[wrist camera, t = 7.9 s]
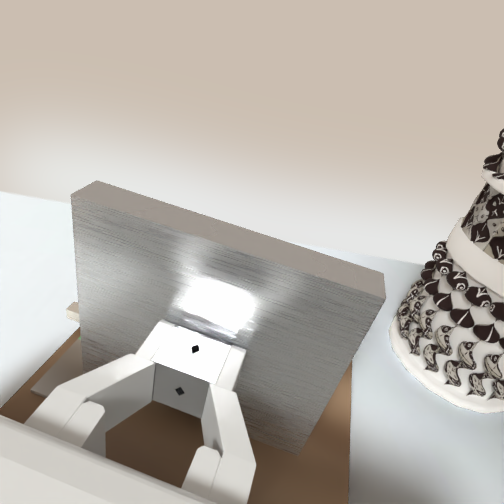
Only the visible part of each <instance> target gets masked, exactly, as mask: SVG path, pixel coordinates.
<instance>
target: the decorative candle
mask: <svg viewBox="0 0 504 504" xmlns="http://www.w3.org/2000/svg"><path fill="white" fill-rule="evenodd" d="M499 137H500V138H499V140H498V142H497V145H498V147H499V149H500V150H501V151H502V152H501V153H500V154H496V155H491V156H488V157H487V158H486V159H485V160H484V163H485V165H483V168H484V169H483V171H482V178H483V179H484V180H485V181H486V184H485V186H484V188H483V190H482V191H481V192H480V194H479V195H478V196H477V197H476V199H475V201H474V202H473V204H472V206H471V209H470V210H469V212H468V214H467V215H466V216H465V217H462V218H460V219H459V221H458V222H457V224H456V225H455V227H454V229H453V230H452V232H451V233H450V235H449V237H448V240H447V241H441V242H439V243H438V244H437V246H436V249H435V250H434V251H433V254H432V256H433V259H434V260H435V261H428V262H427V263H426V264H425V269H423V270H422V272H421V277H422V279H421V280H418V281H416V282H414V283H413V284H412V286H411V290H410V291H409V292H408V294H407V298H406V299H404V300H403V301H402V303H401V307H400V308H399V309H398V311H397V315H396V316H395V317H394V319H393V322H392V324H391V326H390V329H389V336H390V340H391V345H392V349H393V350H394V352H395V353H396V355H397V356H398V358H399V359H400V361H401V363H402V364H403V366H404V367H405V369H406V370H407V371H408V372H410V373H411V374H412V375H413V376H414V377H415V378H416V379H417V380H418V381H419V382H420V383H421V384H423V385H424V386H425V387H426V388H427V389H428V390H430V391H431V392H433V393H435V394H436V395H438V396H440V397H442V398H443V399H445V400H447V401H448V402H450V403H452V404H454V405H455V406H458V407H461V408H465V409H468V410H472V411H475V412H479V413H482V414H488V413H497V412H504V129H503V130H502V131H501V132H500V134H499Z"/></svg>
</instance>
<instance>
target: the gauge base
mask: <svg viewBox="0 0 504 504" xmlns="http://www.w3.org/2000/svg"><path fill="white" fill-rule="evenodd" d="M81 375H83V362H82V348H81V333H80V327H79V328H78V329H77V330H76V331H75V332H74V333H73V334H72V335H71V336H70V337H69V339H68V340H67V341H66V342H65V343H64V344H63V345H62V346H61V347H60V348H59V349H58V350H57V351H56V352H55V353H54V354H53V355H52V356H51V357H50V358H49V359H48V360H47V361H46V362H45V363H44V364H43V365H42V366H41V367H40V368H39V369H38V370H37V371H36V372H35V373H34V375H33V376H32V377H31V378H30V379H29V380H28V381H27V382H26V383H25V384H24V385H23V386H22V387H21V388H20V389H19V390H18V391H17V392H16V393H15V394H14V395H13V396H12V397H11V398H10V399H9V400H8V401H7V402H6V403H5V404H4V405H3V406H2V407H1V408H0V415H2V416H4V417H7V418H9V419H12V420H14V421H17V422H19V423H22V424H24V423H25V422H26V421H27V420H28V418H29V417H30V416H31V415H32V414H33V413H34V412H35V411H36V409H37V408H38V407H39V406H40V405H41V404H42V403H43V401H44V400H45V399H46V398H47V397H48V396H49V395H50V394H51V392H52V391H53V390H54V389H55V388H56V387H57V386H59V385H61V384H63V383H65V382H68V381H70V380H72V379H74V378H76V377H79V376H81ZM351 378H352V361H351V362H350V364H349V366H348V368H347V370H346V371H345V373H344V375H343V377H342V378H341V380H340V382H339V384H338V386H337V387H336V389H335V391H334V393H333V395H332V396H331V398H330V400H329V402H328V404H327V405H326V407H325V409H324V411H323V412H322V414H321V416H320V418H319V420H318V421H317V423H316V425H315V427H314V429H313V430H312V432H311V434H310V436H309V438H308V439H307V441H306V443H305V445H304V446H303V448H302V450H301V452H300V454H299V455H298V456H296V455H294V454H291V453H288V452H286V451H283V450H281V449H278V448H275V447H273V446H270V445H268V444H265V443H262V442H260V441H257V440H255V439H252V438H249V440H250V444H251V447H252V451H253V455H254V458H255V462H256V469H255V473H254V477H253V481H252V485H251V489H250V493H249V497H248V501H247V504H348V492H349V454H350V416H351ZM105 442H106V457H105V458H107V459H110V460H112V461H115V462H117V463H120V464H122V465H125V466H127V467H129V468H132V469H134V470H137V471H139V472H142V473H144V474H147V475H149V476H151V477H154V478H156V479H159V480H161V481H164V482H166V483H169V484H171V485H173V486H176V487H178V488H181V487H182V485H183V482H184V480H185V478H186V475H187V473H188V470H189V468H190V466H191V463H192V461H193V458H194V456H195V454H196V451H197V449H198V448H200V447H202V446H204V439H203V431H202V424H201V419H200V418H197V417H195V416H192V415H190V414H187V413H184V412H182V411H179V410H177V409H174V408H171V407H169V406H166V405H164V404H161V403H158V402H156V401H153V400H152V401H151V402H150V403H149V404H147V405H146V406H144V407H143V408H141V409H140V410H138V411H137V412H135V413H134V414H132V415H131V416H129V417H128V418H126V419H125V420H123V421H122V422H120V423H119V424H117V425H116V426H114V427H113V428H111V429H110V430H108V431H107V432H105Z"/></svg>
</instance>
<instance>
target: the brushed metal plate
mask: <svg viewBox="0 0 504 504" xmlns="http://www.w3.org/2000/svg"><path fill="white" fill-rule="evenodd" d="M71 205H72V219H73V233H74V248H75V262H76V276H77V290H78V303H77V302H73V303H72V304H71V305H70V306H69V307H68V308H67V309H66V313H67V318H68V319H71V320H74V321H76V322H79V323H80V333H81V348H82V362H83V374H85V373H88V372H90V371H92V370H94V369H97V368H99V367H101V366H103V365H106V364H108V363H110V362H112V361H114V360H117V359H119V358H121V357H123V356H126V355H128V354H130V353H131V354H134V355H135V354H136V352H137V351H138V350H139V348H140V347H141V345H142V344H143V343H144V341H145V340H146V338H147V337H148V336H149V334H150V333H151V331H152V330H153V329H154V327H155V326H156V324H157V323H158V322H159V321H160V320H165V321H168V322H170V323H173V324H176V325H179V326H181V327H184V328H186V329H189V330H191V331H194V332H197V333H199V334H202V335H206V336H209V337H212V338H214V339H217V340H220V341H223V342H226V343H229V344H232V345H234V346H237V347H240V348H243V349H245V350H247V352H246V356H245V359H244V362H243V365H242V369H241V372H240V375H239V378H238V381H237V385H236V388H235V391H234V392H235V393H237V397H238V400H239V404H240V408H241V411H242V415H243V418H244V422H245V426H246V429H247V433H248V437H249V438H252V439H255V440H257V441H260V442H262V443H265V444H268V445H270V446H273V447H275V448H278V449H281V450H283V451H286V452H288V453H291V454H294V455H296V456H298V455H299V454H300V452H301V450H302V448H303V446H304V445H305V443H306V441H307V439H308V438H309V436H310V434H311V432H312V430H313V429H314V427H315V425H316V423H317V421H318V420H319V418H320V416H321V414H322V412H323V411H324V409H325V407H326V405H327V404H328V402H329V400H330V398H331V396H332V395H333V393H334V391H335V389H336V387H337V386H338V384H339V382H340V380H341V378H342V377H343V375H344V373H345V371H346V370H347V368H348V366H349V364H350V362H351V361H352V359H353V357H354V355H355V353H356V352H357V350H358V348H359V346H360V344H361V343H362V341H363V339H364V337H365V336H366V334H367V332H368V330H369V328H370V327H371V325H372V323H373V321H374V319H375V318H376V316H377V314H378V312H379V310H380V309H381V307H382V305H383V303H384V302H385V300H386V294H385V284H384V274H383V273H381V272H378V271H375V270H371V269H368V268H365V267H362V266H359V265H356V264H353V263H350V262H347V261H344V260H341V259H338V258H334V257H331V256H328V255H325V254H322V253H319V252H316V251H313V250H310V249H307V248H304V247H301V246H297V245H294V244H291V243H288V242H285V241H282V240H279V239H276V238H273V237H269V236H267V235H263V234H260V233H257V232H254V231H251V230H248V229H245V228H242V227H239V226H236V225H233V224H229V223H227V222H223V221H220V220H217V219H214V218H211V217H208V216H205V215H202V214H198V213H196V212H192V211H190V210H187V209H183V208H180V207H177V206H174V205H171V204H168V203H165V202H162V201H159V200H156V199H153V198H150V197H146V196H143V195H140V194H137V193H134V192H131V191H128V190H125V189H122V188H119V187H116V186H112V185H110V184H106V183H103V182H100V181H95V182H93V183H91V184H89V185H87V186H86V187H84V188H82V189H80V190H78V191H76V192H74V193H73V194H71ZM158 403H159V402H158ZM161 404H162V403H161ZM164 405H165V404H164ZM166 406H168V405H166ZM169 407H170V406H169ZM171 408H173V407H171ZM174 409H176V408H174ZM177 410H179V409H177ZM179 411H181V410H179ZM182 412H183V411H182ZM184 413H186V412H184ZM187 414H188V413H187ZM190 415H191V414H190ZM192 416H193V415H192ZM197 418H198V417H197Z"/></svg>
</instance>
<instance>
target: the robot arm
mask: <svg viewBox="0 0 504 504" xmlns="http://www.w3.org/2000/svg"><path fill="white" fill-rule="evenodd" d="M246 352H247V350H245V349H243V348H240V347H237V346H234V345H232V344H229V343H226V342H223V341H220V340H217V339H214V338H212V337H209V336H206V335H202V334H199V333H197V332H194V331H191V330H189V329H186V328H184V327H181V326H179V325H176V324H173V323H170V322H168V321H165V320H160V321H159V322H158V323H157V324H156V326H155V327H154V329H153V330H152V331H151V333H150V334H149V336H148V337H147V338H146V340H145V341H144V343H143V344H142V345H141V347H140V348H139V350H138V351H137V352H136V354H135V355H134V354H131V353H130V354H128V355H126V356H123V357H121V358H119V359H117V360H114V361H112V362H110V363H108V364H106V365H103V366H101V367H99V368H97V369H94V370H92V371H90V372H88V373H85V374H83V375H81V376H79V377H76V378H74V379H72V380H70V381H68V382H65V383H63V384H61V385H59V386H57V387H56V388H55V389H54V390H53V391H52V392H51V394H50V395H49V396H48V397H47V398H46V399H45V400H44V401H43V403H42V404H41V405H40V406H39V407H38V408H37V409H36V411H35V412H34V413H33V414H32V415H31V416H30V417H29V418H28V420H27V421H26V422H25V423H24V424H22V423H19V422H17V421H14V420H12V419H9V418H7V417H4V416H2V415H0V504H247V501H248V497H249V493H250V489H251V485H252V481H253V477H254V473H255V469H256V462H255V458H254V455H253V451H252V447H251V444H250V440H249V437H248V433H247V429H246V426H245V422H244V418H243V415H242V411H241V408H240V404H239V400H238V397H237V393H235V392H234V391H235V388H236V385H237V381H238V378H239V375H240V372H241V369H242V365H243V362H244V359H245V356H246ZM152 400H153V401H156V402H159V403H162V404H165V405H168V406H170V407H173V408H176V409H179V410H181V411H183V412H186V413H188V414H191V415H193V416H195V417H198V418H200V419H201V424H202V431H203V439H204V446H202V447H200V448H198V449H197V451H196V454H195V456H194V458H193V461H192V463H191V466H190V468H189V470H188V473H187V475H186V478H185V480H184V482H183V485H182V487H181V488H178V487H176V486H173V485H171V484H169V483H166V482H164V481H161V480H159V479H156V478H154V477H151V476H149V475H147V474H144V473H142V472H139V471H137V470H134V469H132V468H129V467H127V466H125V465H122V464H120V463H117V462H115V461H112V460H110V459H107V458H105V457H106V442H105V432H107V431H108V430H110V429H111V428H113V427H114V426H116V425H117V424H119V423H120V422H122V421H123V420H125V419H126V418H128V417H129V416H131V415H132V414H134V413H135V412H137V411H138V410H140V409H141V408H143V407H144V406H146V405H147V404H149V403H150V402H151V401H152Z"/></svg>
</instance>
